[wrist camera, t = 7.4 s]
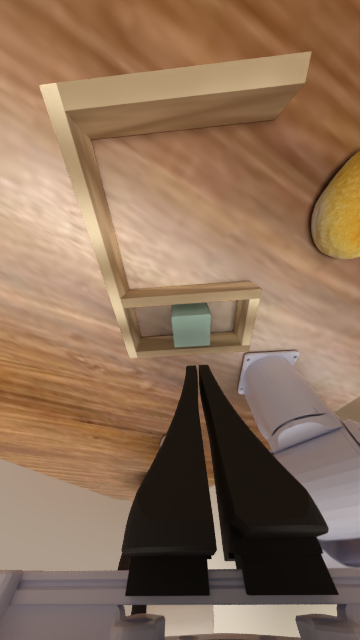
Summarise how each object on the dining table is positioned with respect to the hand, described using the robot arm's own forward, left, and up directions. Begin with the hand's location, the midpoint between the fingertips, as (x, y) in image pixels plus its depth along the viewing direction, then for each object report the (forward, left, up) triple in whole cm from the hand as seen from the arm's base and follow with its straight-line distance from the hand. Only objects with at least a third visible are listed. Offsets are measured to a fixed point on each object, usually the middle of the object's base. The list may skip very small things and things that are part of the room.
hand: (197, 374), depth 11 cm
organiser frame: (+7, 0, -9) cm, 12 cm away
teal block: (0, 0, -10) cm, 10 cm away
